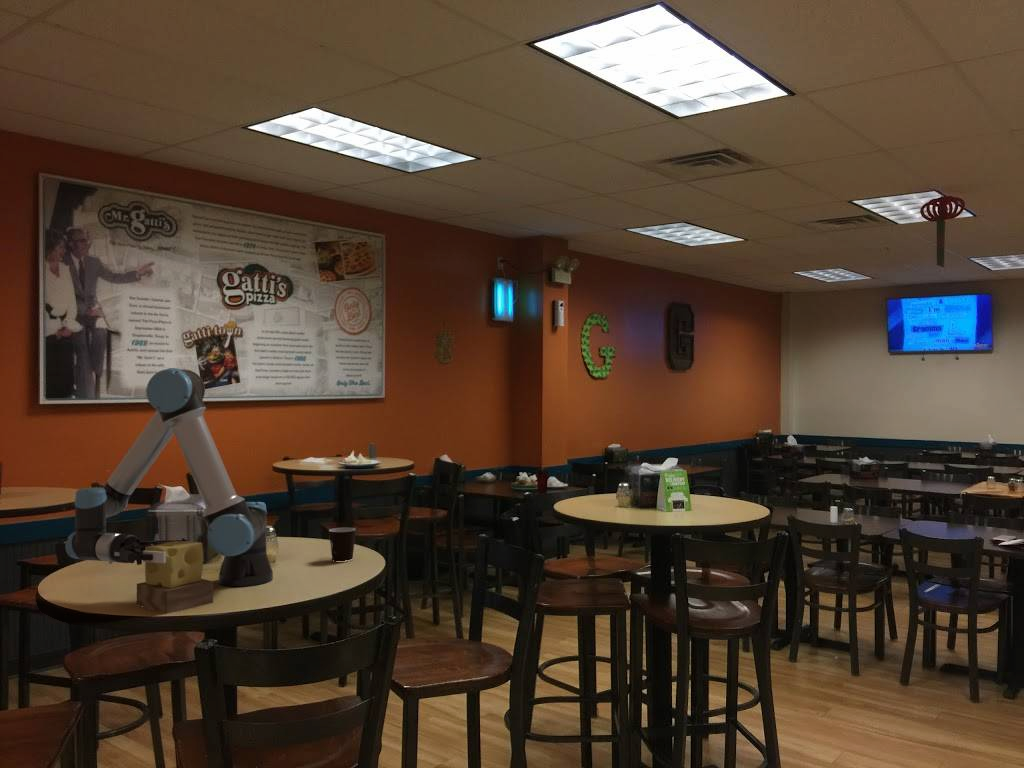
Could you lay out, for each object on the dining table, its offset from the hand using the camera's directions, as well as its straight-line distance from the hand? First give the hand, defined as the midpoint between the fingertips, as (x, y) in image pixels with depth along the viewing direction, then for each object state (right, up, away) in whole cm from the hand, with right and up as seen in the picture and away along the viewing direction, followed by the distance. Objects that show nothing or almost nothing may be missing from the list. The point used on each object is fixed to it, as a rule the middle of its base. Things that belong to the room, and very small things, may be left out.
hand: (183, 552), depth 217 cm
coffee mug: (+30, -14, +57) cm, 66 cm away
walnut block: (-3, -14, +1) cm, 14 cm away
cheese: (-3, -8, +1) cm, 9 cm away
